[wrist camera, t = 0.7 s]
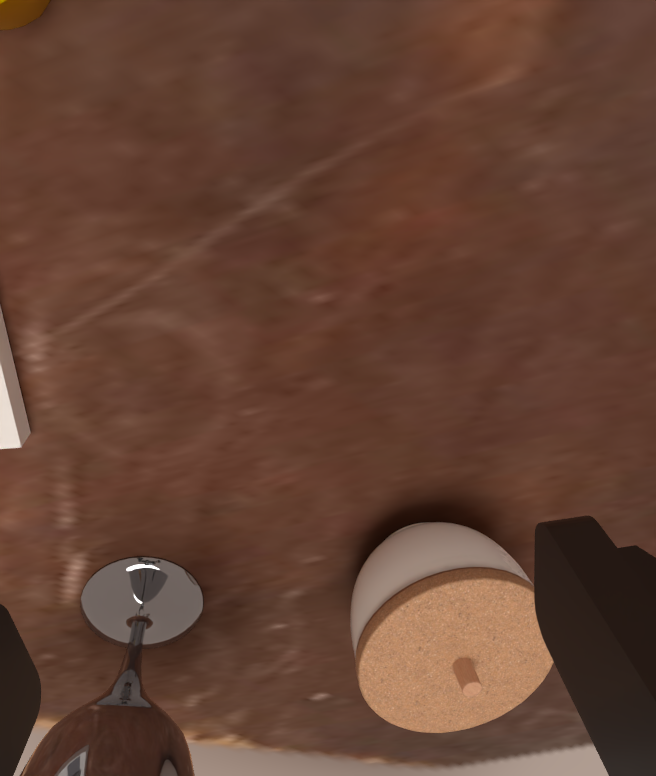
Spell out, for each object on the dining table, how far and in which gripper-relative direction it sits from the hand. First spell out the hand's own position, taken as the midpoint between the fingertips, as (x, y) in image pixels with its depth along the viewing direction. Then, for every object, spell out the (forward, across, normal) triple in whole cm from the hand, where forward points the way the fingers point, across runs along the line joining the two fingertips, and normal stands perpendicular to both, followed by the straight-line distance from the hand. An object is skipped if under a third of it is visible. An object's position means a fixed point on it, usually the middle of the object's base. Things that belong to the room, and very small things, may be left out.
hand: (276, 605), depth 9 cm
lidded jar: (+23, -5, +20) cm, 31 cm away
